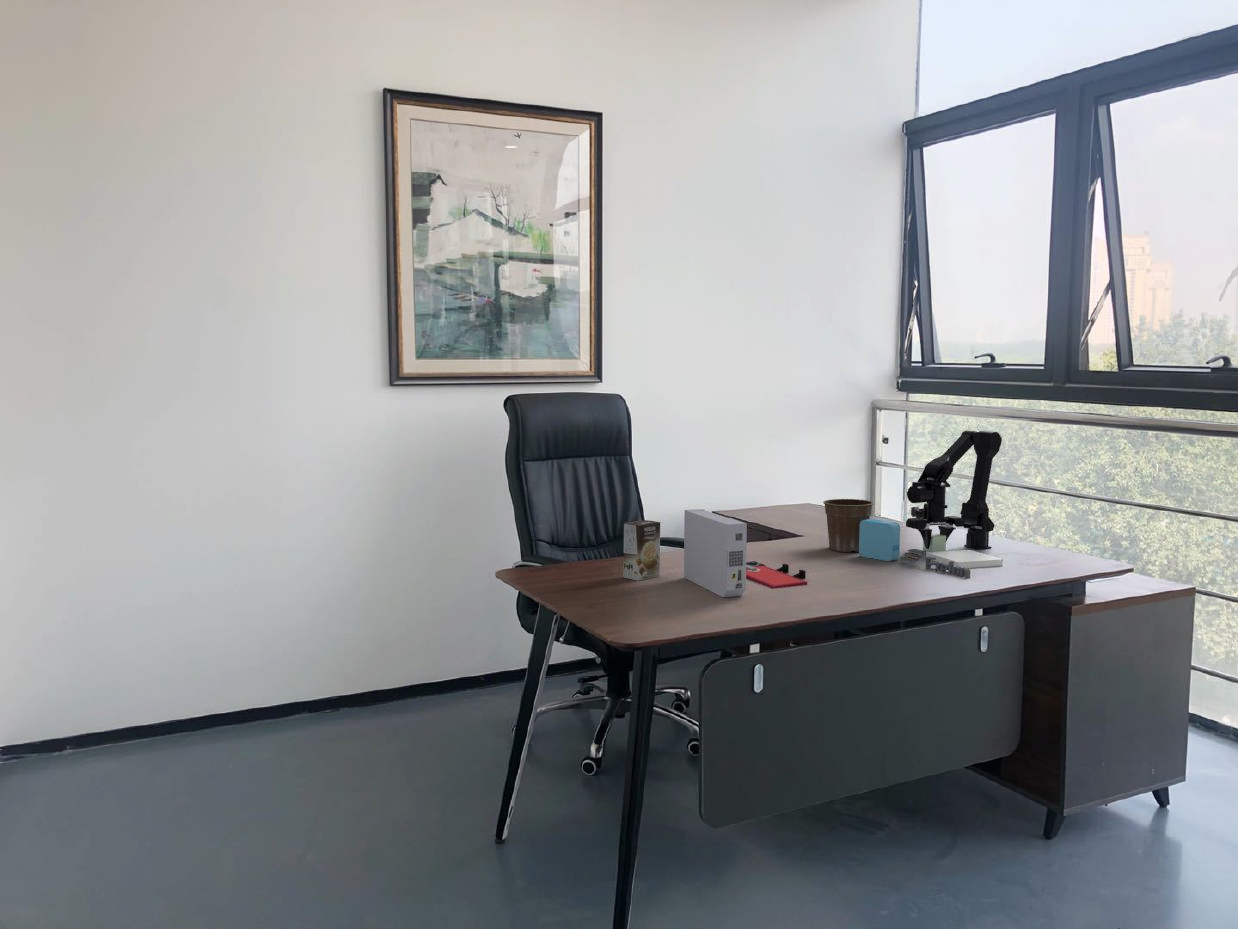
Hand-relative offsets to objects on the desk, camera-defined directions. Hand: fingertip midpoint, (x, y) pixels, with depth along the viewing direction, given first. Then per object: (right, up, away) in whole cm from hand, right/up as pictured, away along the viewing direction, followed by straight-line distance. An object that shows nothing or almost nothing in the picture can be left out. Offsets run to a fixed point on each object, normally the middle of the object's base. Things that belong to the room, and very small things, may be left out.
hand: (934, 548), depth 303 cm
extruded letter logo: (-9, -5, -25) cm, 27 cm away
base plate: (+4, -3, -14) cm, 15 cm away
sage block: (0, -2, 0) cm, 2 cm away
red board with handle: (-60, -6, -32) cm, 69 cm away
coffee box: (-97, -5, -35) cm, 103 cm away
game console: (-77, -7, -48) cm, 91 cm away
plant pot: (-27, -1, +7) cm, 28 cm away
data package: (-20, -3, -8) cm, 22 cm away
